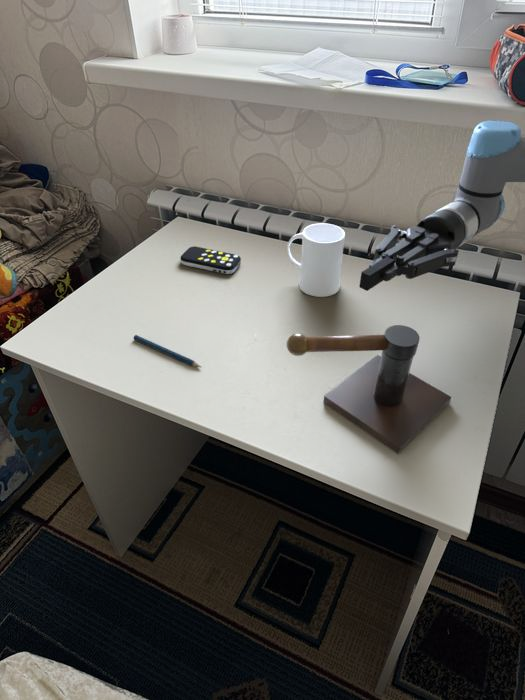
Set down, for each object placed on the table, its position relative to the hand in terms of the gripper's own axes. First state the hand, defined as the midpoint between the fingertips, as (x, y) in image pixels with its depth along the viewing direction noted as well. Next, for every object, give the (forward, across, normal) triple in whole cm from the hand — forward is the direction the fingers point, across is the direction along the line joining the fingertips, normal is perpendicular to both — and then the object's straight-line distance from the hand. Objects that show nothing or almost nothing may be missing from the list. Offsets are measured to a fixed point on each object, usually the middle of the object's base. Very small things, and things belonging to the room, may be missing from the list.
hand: (364, 281), depth 77 cm
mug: (-13, +21, -16) cm, 30 cm away
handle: (+9, -5, -5) cm, 12 cm away
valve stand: (+4, -10, -16) cm, 19 cm away
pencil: (+22, +24, -16) cm, 36 cm away
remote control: (-3, +41, -16) cm, 45 cm away
